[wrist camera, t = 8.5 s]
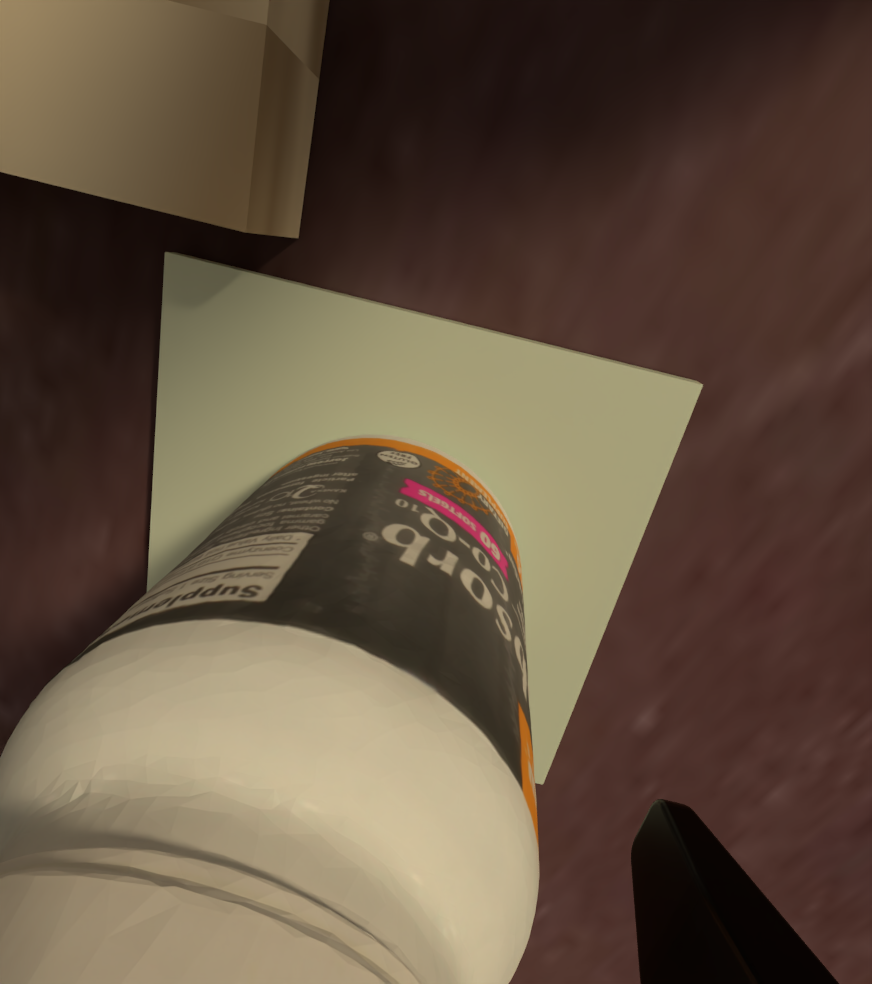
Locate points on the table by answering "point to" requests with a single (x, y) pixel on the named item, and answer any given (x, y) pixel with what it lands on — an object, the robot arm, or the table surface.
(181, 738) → the pill bottle
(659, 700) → the table surface
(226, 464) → the mat
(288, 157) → the pocket holder
